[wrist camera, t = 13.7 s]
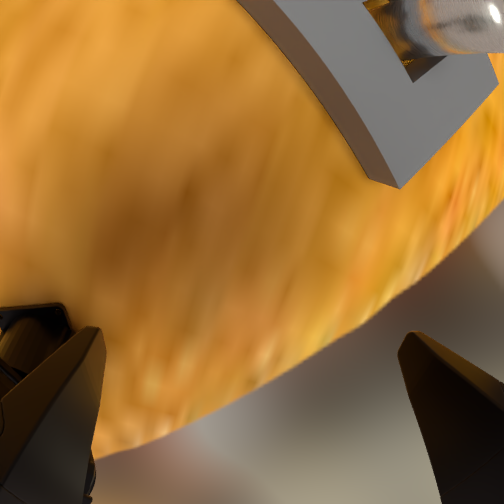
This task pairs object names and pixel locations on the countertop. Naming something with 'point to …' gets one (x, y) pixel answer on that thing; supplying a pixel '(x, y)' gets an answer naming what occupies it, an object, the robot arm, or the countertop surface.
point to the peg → (441, 27)
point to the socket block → (376, 83)
